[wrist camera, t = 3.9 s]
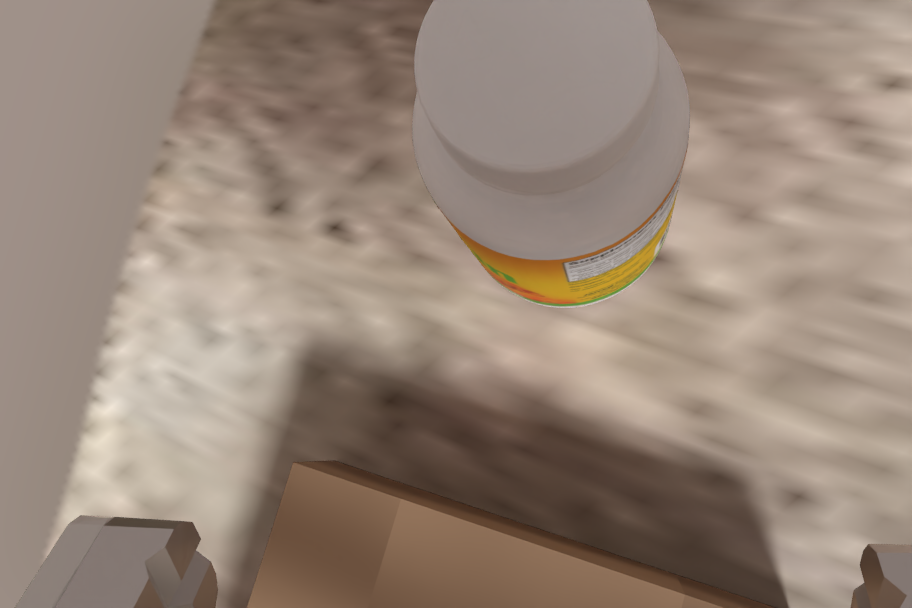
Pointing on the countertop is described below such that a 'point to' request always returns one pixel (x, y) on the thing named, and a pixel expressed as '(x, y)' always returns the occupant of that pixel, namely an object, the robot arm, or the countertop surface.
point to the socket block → (441, 555)
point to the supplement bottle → (551, 139)
